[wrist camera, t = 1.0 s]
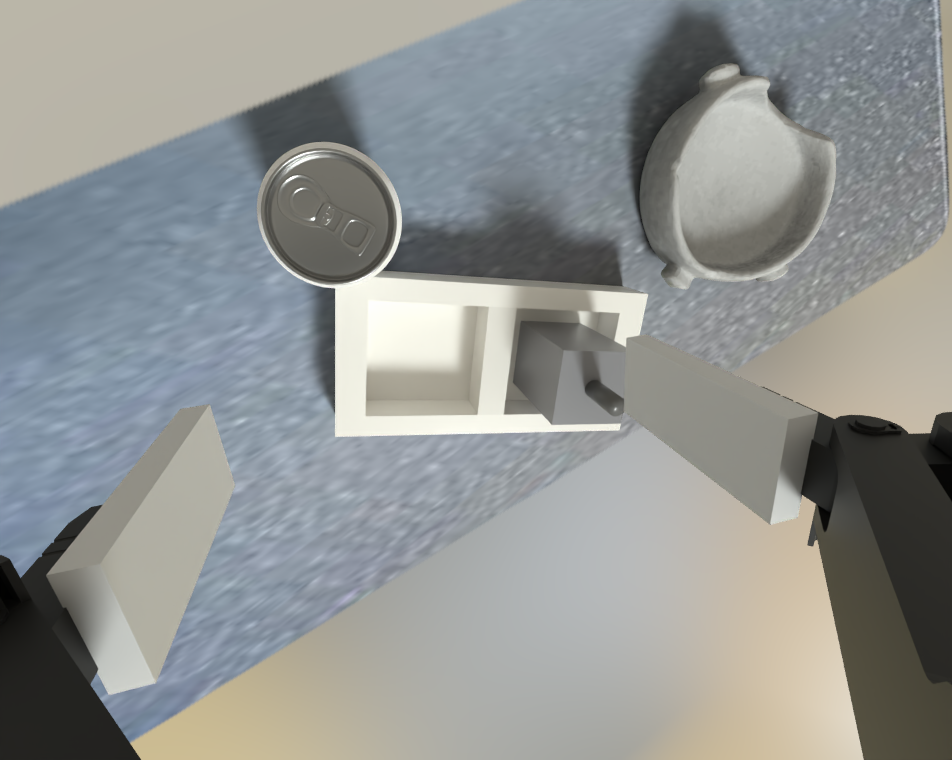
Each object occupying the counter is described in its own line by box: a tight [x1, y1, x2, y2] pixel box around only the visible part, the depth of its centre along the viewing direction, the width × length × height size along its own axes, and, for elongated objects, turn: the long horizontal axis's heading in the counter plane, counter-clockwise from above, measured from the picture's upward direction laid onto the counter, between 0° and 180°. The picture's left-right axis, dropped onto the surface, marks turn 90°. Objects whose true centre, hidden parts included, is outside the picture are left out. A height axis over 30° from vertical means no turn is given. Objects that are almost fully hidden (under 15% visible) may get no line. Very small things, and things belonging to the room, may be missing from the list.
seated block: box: [513, 321, 626, 425], centre depth 33 cm, size 5×5×11 cm
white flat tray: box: [335, 271, 648, 437], centre depth 36 cm, size 22×11×4 cm, turn 84°
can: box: [257, 142, 402, 288], centre depth 26 cm, size 6×6×12 cm
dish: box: [640, 63, 836, 289], centre depth 36 cm, size 14×14×5 cm
